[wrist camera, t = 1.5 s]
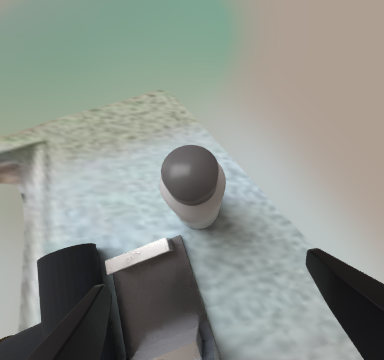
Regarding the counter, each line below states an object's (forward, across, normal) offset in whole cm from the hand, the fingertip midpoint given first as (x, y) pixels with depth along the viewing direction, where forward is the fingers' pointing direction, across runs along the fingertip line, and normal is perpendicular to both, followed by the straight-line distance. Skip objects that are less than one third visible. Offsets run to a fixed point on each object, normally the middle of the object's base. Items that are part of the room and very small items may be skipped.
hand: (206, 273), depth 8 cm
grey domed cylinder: (+13, 0, +5) cm, 13 cm away
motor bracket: (+5, +5, +12) cm, 14 cm away
